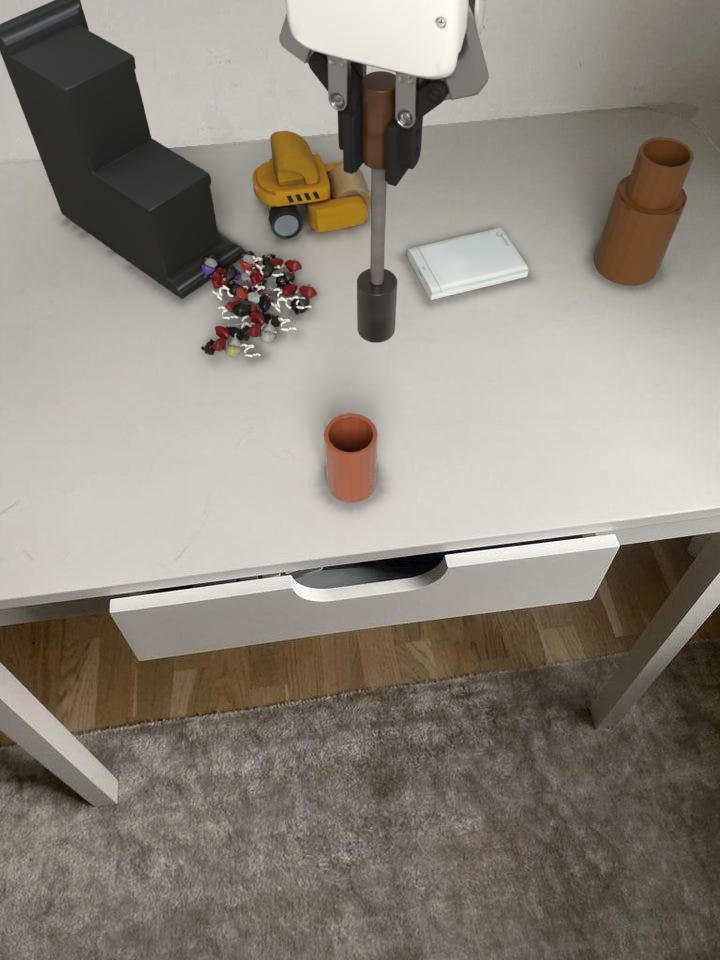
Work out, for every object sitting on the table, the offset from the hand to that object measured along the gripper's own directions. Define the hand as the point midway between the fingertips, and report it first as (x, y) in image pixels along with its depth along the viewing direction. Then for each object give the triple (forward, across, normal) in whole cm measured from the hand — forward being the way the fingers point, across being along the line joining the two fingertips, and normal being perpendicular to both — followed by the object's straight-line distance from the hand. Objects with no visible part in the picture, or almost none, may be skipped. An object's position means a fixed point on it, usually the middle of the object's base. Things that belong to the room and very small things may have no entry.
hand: (379, 165), depth 48 cm
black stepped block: (+34, +40, -20) cm, 56 cm away
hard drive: (+34, +2, -32) cm, 46 cm away
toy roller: (+34, +24, -32) cm, 53 cm away
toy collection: (+34, +22, -14) cm, 43 cm away
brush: (+15, 0, 0) cm, 15 cm away
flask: (+34, -15, -40) cm, 55 cm away
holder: (+34, +1, +3) cm, 34 cm away
